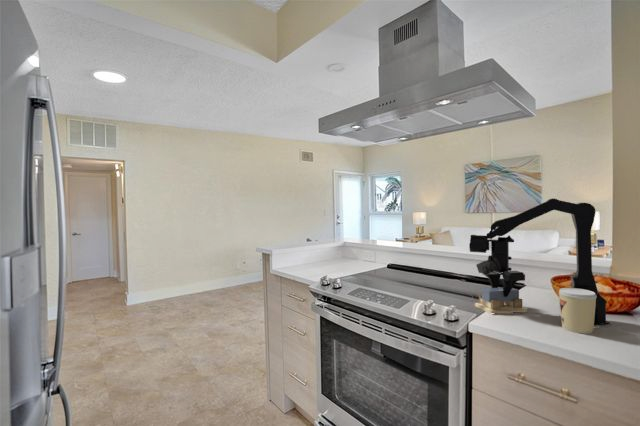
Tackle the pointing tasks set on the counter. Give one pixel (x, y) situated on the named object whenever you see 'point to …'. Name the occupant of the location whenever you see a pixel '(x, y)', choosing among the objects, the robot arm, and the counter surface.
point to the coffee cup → (577, 309)
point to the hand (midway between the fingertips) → (500, 294)
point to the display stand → (501, 306)
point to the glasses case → (499, 294)
